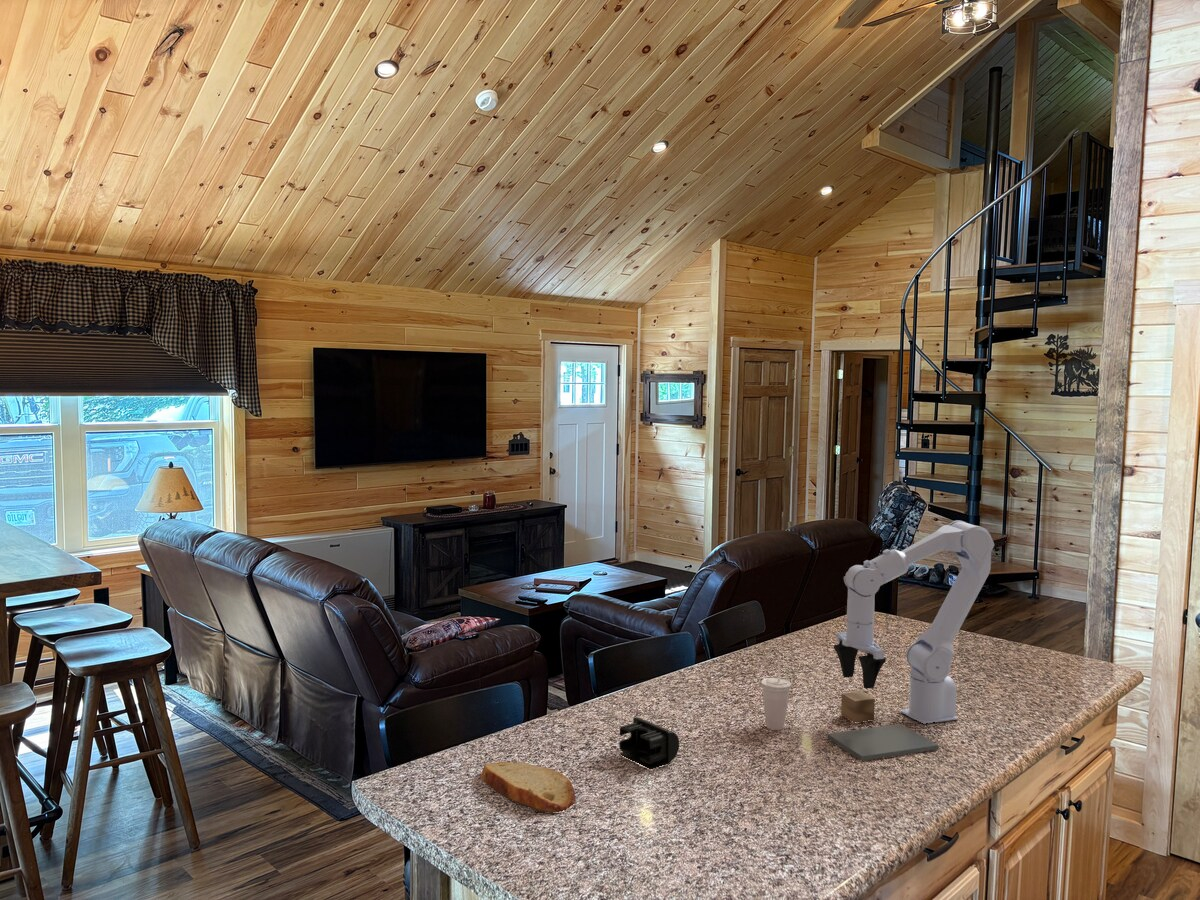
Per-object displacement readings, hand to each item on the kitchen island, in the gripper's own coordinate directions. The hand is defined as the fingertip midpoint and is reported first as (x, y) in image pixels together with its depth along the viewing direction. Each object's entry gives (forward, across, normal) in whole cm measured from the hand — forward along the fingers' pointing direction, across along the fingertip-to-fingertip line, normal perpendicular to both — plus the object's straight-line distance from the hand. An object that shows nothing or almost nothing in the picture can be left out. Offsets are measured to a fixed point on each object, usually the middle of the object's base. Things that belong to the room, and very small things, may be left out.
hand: (858, 682), depth 197 cm
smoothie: (+8, -1, -20) cm, 22 cm away
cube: (+8, 0, 0) cm, 8 cm away
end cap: (+8, +6, -52) cm, 53 cm away
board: (+8, +14, -4) cm, 17 cm away
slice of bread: (+9, +12, -78) cm, 79 cm away
